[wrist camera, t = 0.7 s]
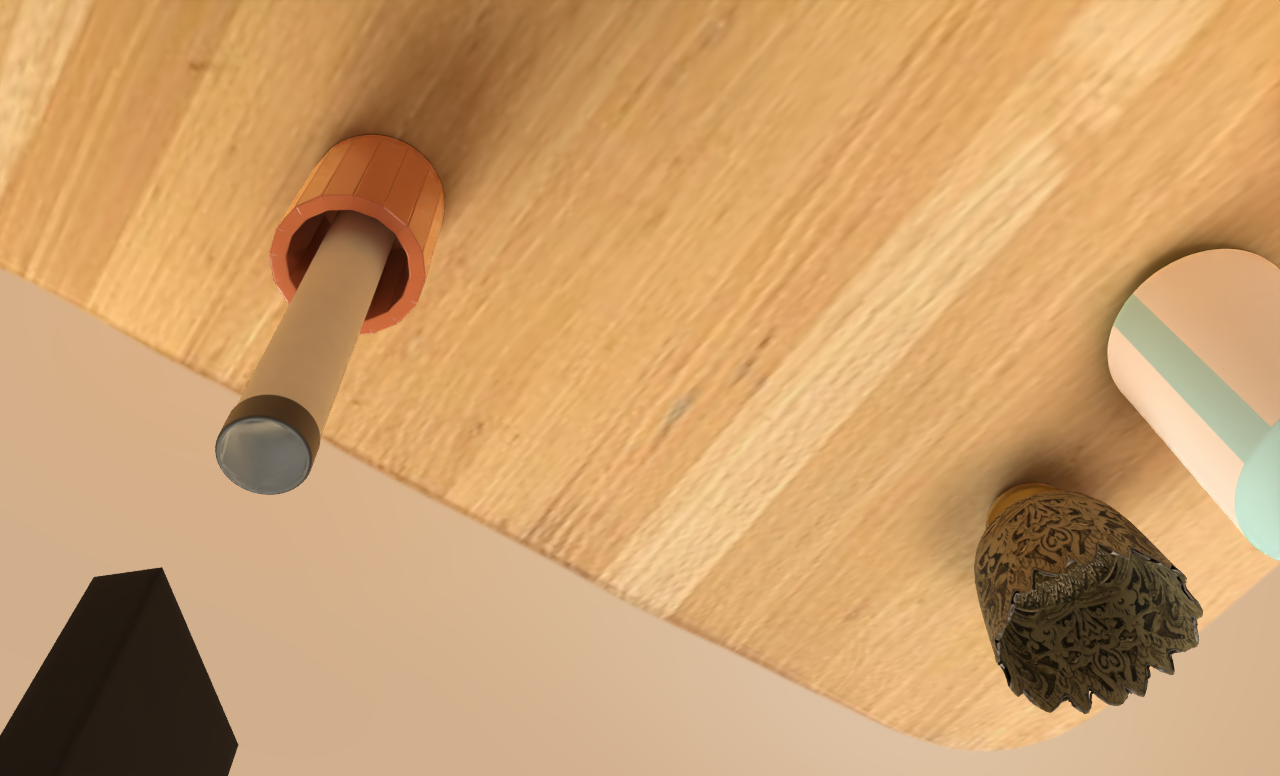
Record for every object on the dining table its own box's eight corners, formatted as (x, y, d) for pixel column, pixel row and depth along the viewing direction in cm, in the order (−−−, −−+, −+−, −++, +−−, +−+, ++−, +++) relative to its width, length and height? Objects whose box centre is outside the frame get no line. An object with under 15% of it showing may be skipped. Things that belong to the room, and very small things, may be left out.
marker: (333, 188, 38) (194, 437, 24) (388, 165, 38) (279, 402, 24) (364, 241, 39) (248, 508, 25) (417, 218, 39) (329, 476, 25)
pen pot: (285, 165, 38) (239, 230, 33) (405, 113, 38) (377, 170, 32) (353, 278, 40) (320, 355, 35) (467, 230, 40) (450, 302, 34)
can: (1321, 277, 42) (1564, 448, 32) (1210, 425, 45) (1398, 625, 35) (1169, 215, 41) (1373, 373, 30) (1065, 373, 44) (1217, 566, 33)
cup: (1131, 538, 48) (1224, 670, 41) (970, 604, 50) (1034, 742, 43) (1083, 408, 45) (1176, 528, 38) (911, 483, 46) (971, 612, 39)
